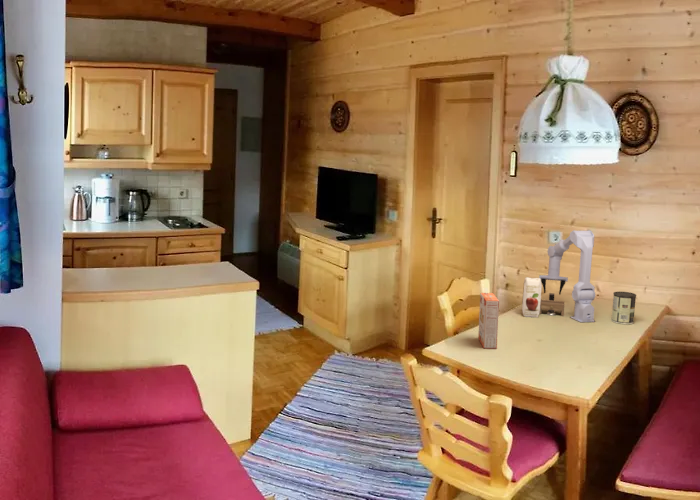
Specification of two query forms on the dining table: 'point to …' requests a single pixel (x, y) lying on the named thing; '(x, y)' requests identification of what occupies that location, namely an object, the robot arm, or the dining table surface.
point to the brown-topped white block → (551, 297)
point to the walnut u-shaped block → (552, 306)
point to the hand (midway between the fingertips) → (552, 293)
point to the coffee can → (623, 307)
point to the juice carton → (531, 297)
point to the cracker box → (488, 320)
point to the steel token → (551, 314)
